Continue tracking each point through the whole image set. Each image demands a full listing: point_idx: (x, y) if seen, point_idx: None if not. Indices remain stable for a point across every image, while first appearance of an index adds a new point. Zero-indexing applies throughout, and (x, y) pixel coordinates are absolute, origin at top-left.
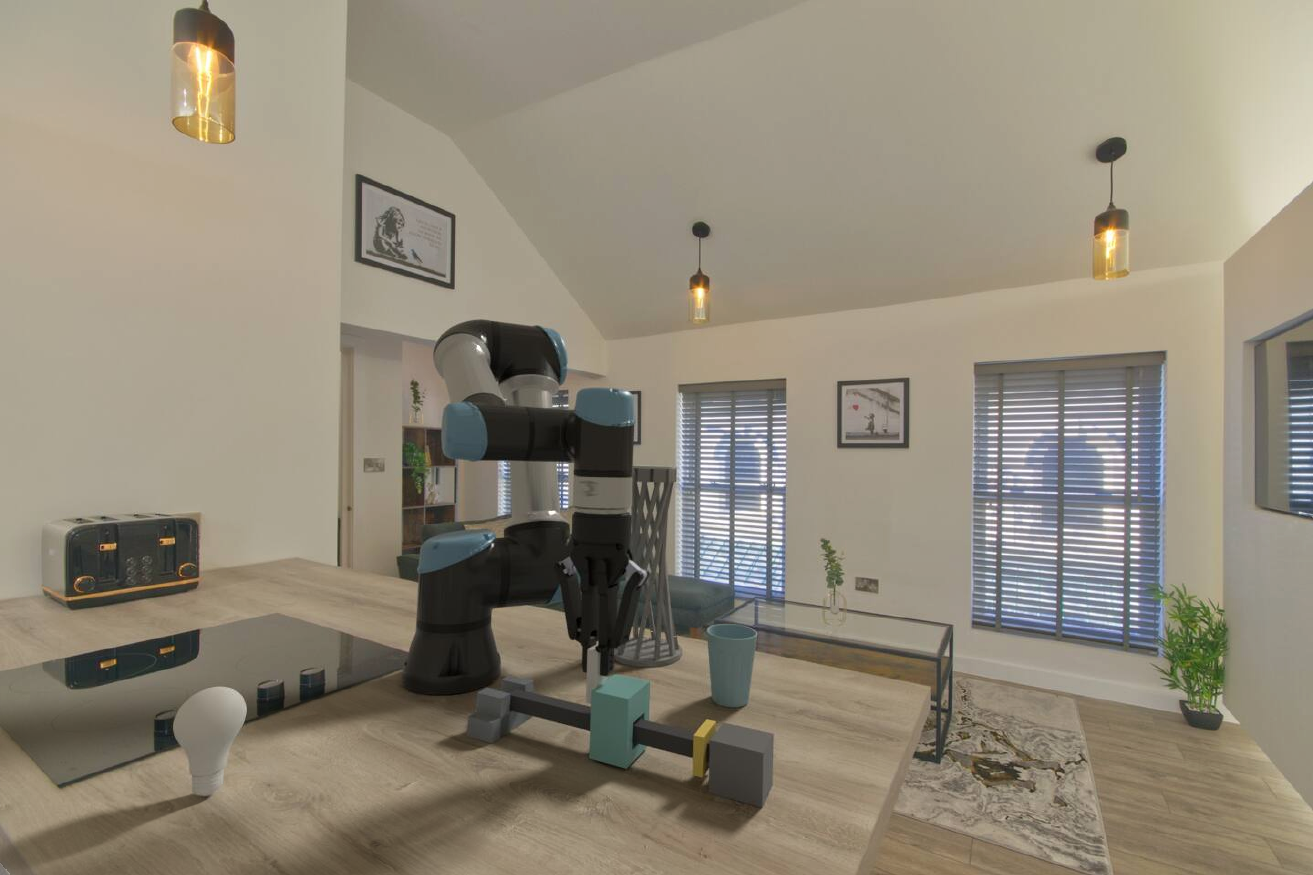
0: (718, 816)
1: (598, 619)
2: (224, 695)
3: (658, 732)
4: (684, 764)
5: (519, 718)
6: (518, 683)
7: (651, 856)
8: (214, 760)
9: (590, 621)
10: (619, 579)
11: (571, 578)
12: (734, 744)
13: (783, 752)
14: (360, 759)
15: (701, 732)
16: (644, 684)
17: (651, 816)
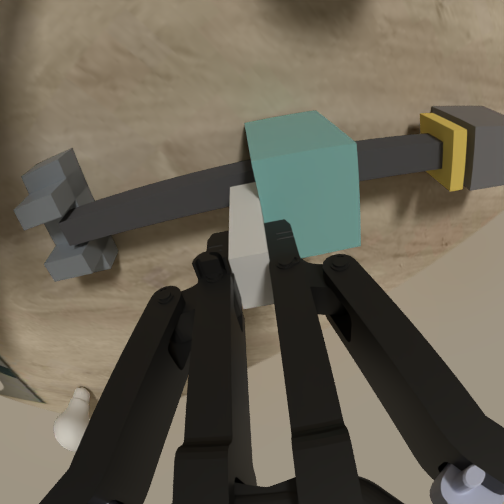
0: (448, 192)
1: (231, 327)
2: (77, 447)
3: (382, 176)
4: (383, 116)
5: (89, 201)
6: (49, 220)
7: (408, 270)
8: (87, 411)
9: (246, 368)
10: (385, 493)
11: (127, 496)
12: (495, 182)
13: (474, 21)
14: (79, 334)
15: (457, 177)
16: (353, 166)
17: (391, 232)
